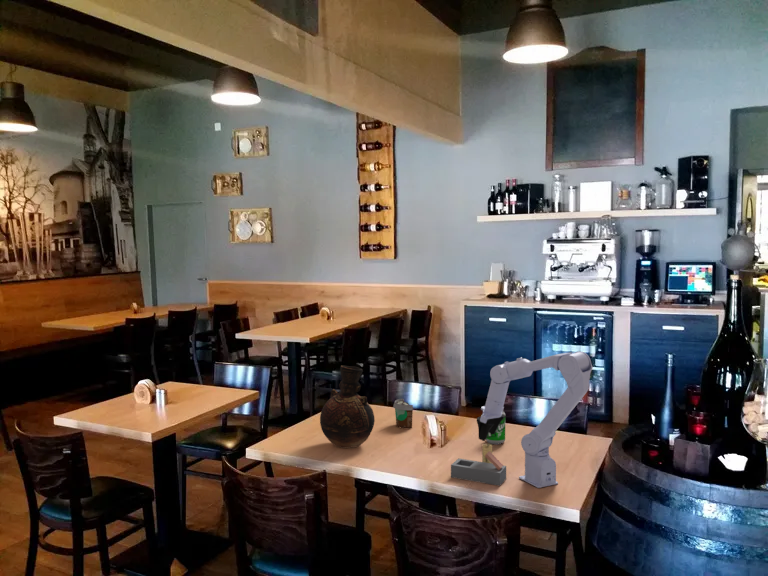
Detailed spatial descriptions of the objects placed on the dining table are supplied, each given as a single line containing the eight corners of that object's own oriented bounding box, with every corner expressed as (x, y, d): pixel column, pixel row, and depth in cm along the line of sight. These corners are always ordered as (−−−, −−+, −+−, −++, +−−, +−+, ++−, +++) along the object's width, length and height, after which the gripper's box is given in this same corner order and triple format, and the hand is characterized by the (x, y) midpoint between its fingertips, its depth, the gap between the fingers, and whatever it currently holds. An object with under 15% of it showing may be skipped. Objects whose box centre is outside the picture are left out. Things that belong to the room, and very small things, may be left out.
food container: (389, 422, 255) (389, 399, 255) (403, 421, 257) (403, 398, 257) (398, 430, 244) (398, 406, 243) (413, 429, 245) (413, 405, 245)
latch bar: (501, 467, 189) (503, 465, 189) (498, 470, 187) (500, 468, 186) (487, 453, 191) (489, 451, 191) (484, 455, 189) (486, 453, 188)
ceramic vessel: (310, 447, 222) (309, 367, 220) (335, 435, 237) (335, 360, 236) (359, 456, 212) (359, 372, 210) (383, 443, 227) (382, 364, 226)
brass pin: (493, 469, 199) (494, 445, 198) (485, 471, 197) (486, 447, 197) (488, 466, 202) (488, 443, 201) (480, 468, 200) (480, 444, 200)
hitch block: (506, 478, 191) (506, 465, 191) (499, 485, 185) (500, 473, 185) (458, 470, 198) (458, 458, 198) (450, 477, 192) (450, 464, 192)
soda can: (481, 440, 231) (481, 409, 230) (498, 438, 233) (498, 407, 233) (491, 446, 224) (491, 414, 223) (509, 443, 226) (509, 412, 226)
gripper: (493, 389, 206) (484, 425, 209) (475, 399, 194) (466, 437, 197) (512, 397, 202) (503, 433, 205) (495, 408, 190) (485, 446, 193)
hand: (486, 436), depth 201 cm, fingers open, 7 cm apart
